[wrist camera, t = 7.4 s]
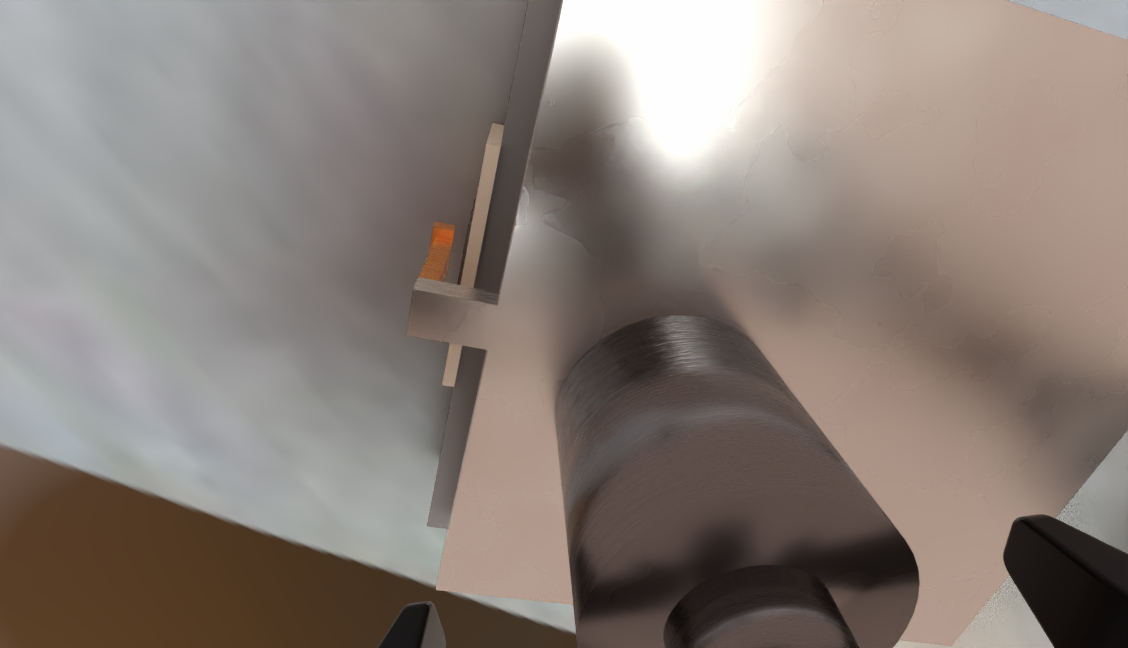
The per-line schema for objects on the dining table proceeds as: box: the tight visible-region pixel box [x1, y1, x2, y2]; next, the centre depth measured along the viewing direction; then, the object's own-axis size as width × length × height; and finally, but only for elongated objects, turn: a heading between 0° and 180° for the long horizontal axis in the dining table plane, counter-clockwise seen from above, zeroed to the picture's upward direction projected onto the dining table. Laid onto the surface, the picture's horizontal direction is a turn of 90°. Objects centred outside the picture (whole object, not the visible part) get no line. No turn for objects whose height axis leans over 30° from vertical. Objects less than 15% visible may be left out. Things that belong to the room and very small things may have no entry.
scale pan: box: [406, 0, 1128, 646], centre depth 14 cm, size 17×15×4 cm
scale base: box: [427, 0, 562, 529], centre depth 16 cm, size 16×16×3 cm
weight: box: [555, 315, 920, 648], centre depth 10 cm, size 5×5×6 cm
